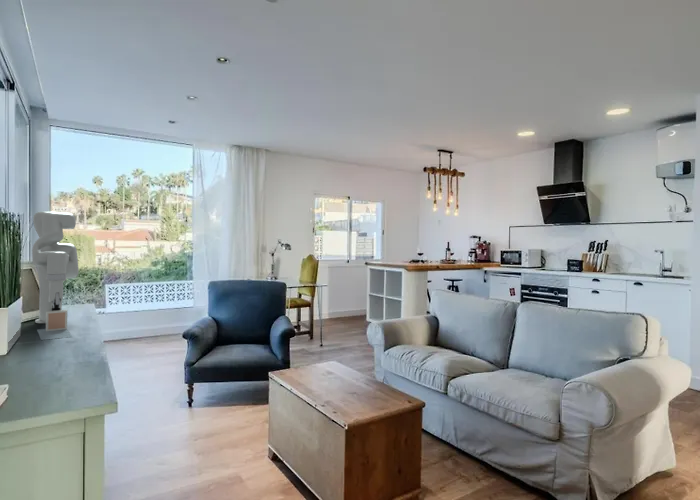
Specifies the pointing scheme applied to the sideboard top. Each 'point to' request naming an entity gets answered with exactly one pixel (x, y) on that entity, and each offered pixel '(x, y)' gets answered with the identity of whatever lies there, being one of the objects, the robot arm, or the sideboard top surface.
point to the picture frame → (56, 320)
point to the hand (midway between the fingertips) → (56, 316)
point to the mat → (53, 334)
